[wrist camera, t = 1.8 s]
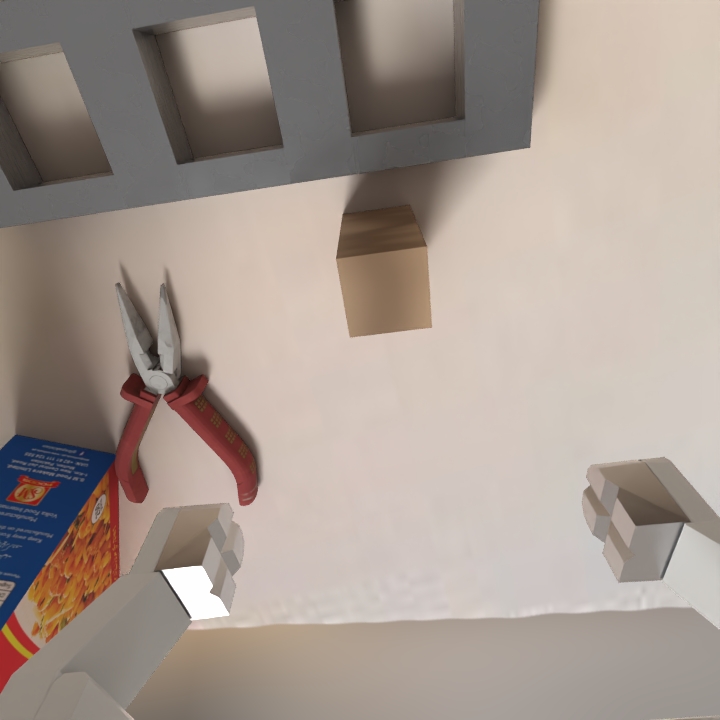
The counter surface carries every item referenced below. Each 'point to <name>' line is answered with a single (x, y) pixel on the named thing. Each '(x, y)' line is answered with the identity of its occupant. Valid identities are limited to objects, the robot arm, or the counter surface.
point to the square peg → (383, 272)
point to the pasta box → (52, 541)
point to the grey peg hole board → (290, 92)
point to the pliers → (171, 403)
